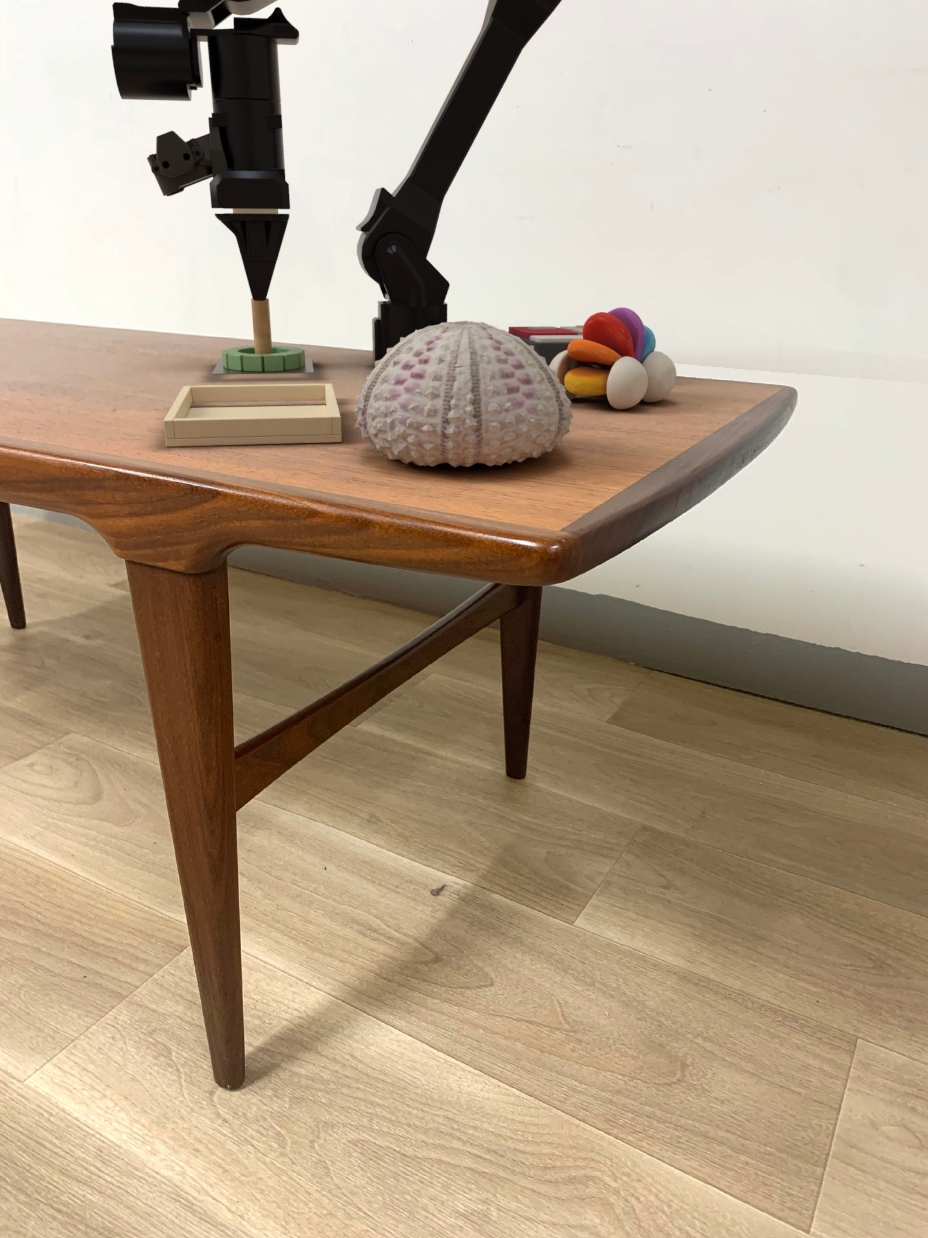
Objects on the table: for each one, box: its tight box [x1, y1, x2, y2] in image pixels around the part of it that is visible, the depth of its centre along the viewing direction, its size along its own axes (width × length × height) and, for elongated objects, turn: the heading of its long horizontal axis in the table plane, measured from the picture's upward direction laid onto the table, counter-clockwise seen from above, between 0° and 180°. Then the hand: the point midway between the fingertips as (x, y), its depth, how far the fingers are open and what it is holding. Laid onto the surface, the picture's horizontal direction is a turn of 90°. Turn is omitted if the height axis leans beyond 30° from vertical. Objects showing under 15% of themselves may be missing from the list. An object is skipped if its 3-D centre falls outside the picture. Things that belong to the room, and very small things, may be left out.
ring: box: [221, 344, 306, 372], centre depth 89 cm, size 8×8×1 cm
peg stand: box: [211, 297, 315, 375], centre depth 88 cm, size 9×9×7 cm
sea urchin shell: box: [352, 320, 574, 468], centre depth 58 cm, size 13×14×8 cm
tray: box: [162, 383, 343, 448], centre depth 68 cm, size 11×13×2 cm
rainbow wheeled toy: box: [549, 306, 677, 410], centre depth 76 cm, size 8×10×7 cm
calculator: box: [507, 324, 584, 366], centre depth 91 cm, size 11×4×15 cm
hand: (260, 296), depth 87 cm, fingers open, 9 cm apart
